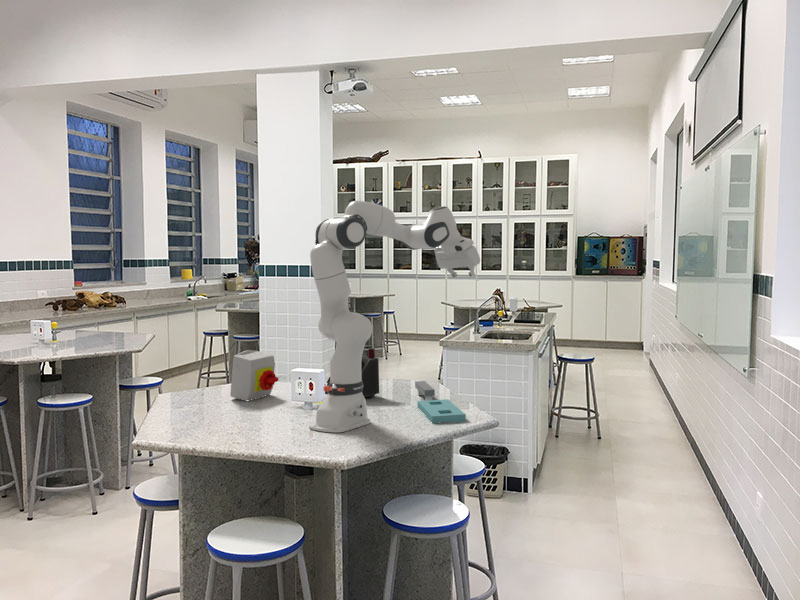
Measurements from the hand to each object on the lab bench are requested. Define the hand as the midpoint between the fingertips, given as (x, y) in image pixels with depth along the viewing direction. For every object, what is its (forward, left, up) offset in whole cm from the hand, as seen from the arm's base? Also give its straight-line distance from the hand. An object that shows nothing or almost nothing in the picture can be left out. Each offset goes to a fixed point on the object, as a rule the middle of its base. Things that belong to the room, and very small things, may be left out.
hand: (463, 276), depth 255 cm
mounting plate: (-28, -1, -49) cm, 57 cm away
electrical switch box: (-33, +80, -50) cm, 100 cm away
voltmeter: (-16, +44, -50) cm, 68 cm away
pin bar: (-7, +15, -49) cm, 52 cm away
